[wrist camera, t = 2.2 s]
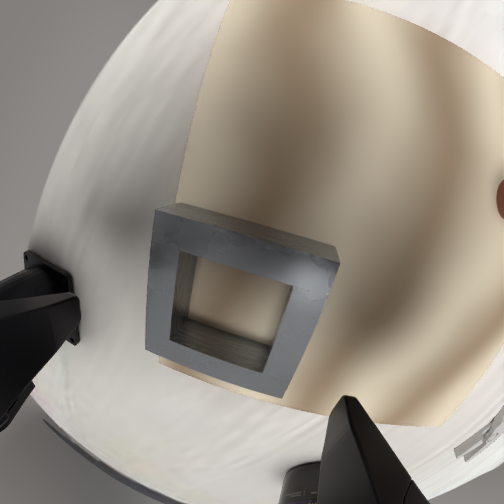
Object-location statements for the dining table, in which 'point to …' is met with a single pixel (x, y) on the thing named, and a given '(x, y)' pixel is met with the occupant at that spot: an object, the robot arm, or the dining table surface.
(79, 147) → the dining table surface
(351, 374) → the keeper board
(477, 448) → the pliers
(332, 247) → the grey square frame
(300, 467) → the supplement bottle
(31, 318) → the robot arm
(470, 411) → the dining table surface
